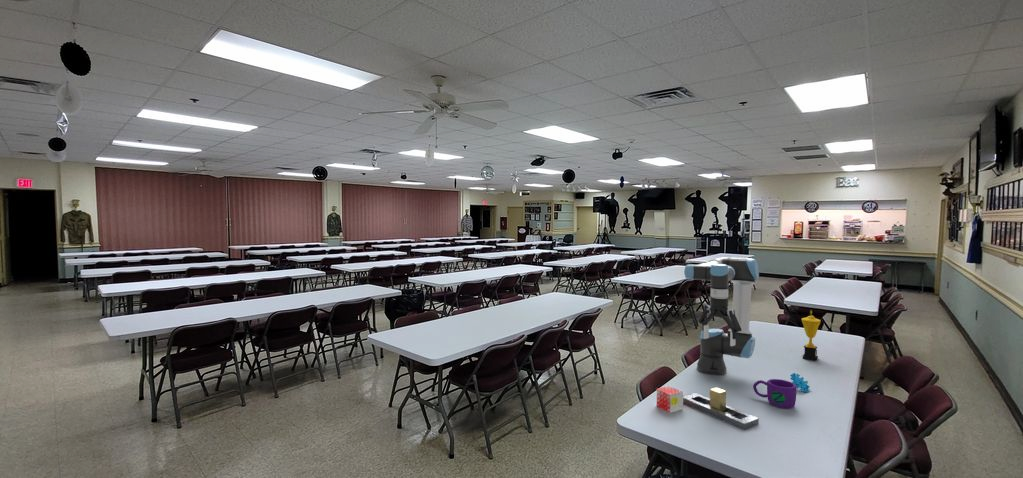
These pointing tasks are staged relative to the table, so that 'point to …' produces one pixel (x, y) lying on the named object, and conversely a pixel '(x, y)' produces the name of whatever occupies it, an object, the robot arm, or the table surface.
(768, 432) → the table surface
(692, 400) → the rail
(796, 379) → the gear
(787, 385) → the mug
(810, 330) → the trophy
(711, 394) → the brass peg
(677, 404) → the red patterned cube
